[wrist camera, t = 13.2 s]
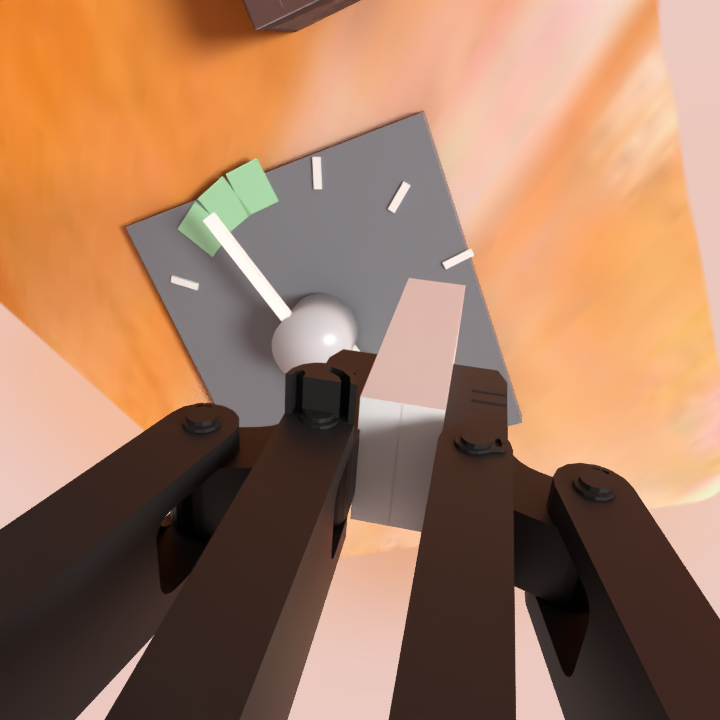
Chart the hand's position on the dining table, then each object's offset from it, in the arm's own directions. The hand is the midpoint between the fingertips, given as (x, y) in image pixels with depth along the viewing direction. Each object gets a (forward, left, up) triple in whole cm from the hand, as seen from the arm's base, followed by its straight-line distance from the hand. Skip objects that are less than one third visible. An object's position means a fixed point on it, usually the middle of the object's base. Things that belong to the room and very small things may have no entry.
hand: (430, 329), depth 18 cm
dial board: (+7, -13, -26) cm, 30 cm away
